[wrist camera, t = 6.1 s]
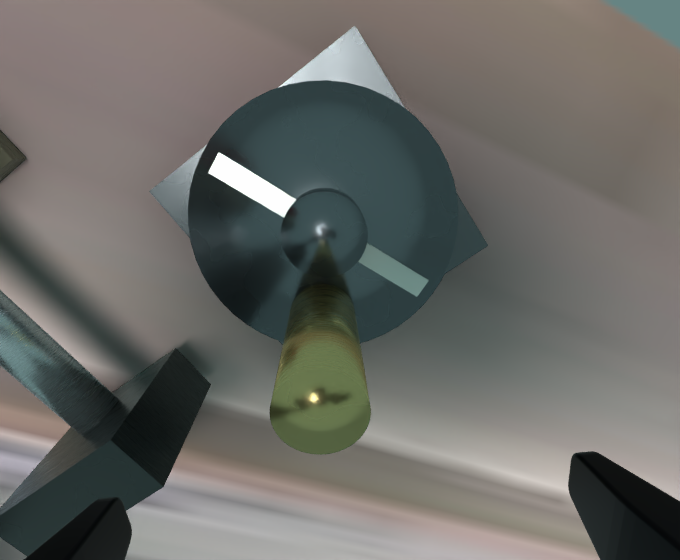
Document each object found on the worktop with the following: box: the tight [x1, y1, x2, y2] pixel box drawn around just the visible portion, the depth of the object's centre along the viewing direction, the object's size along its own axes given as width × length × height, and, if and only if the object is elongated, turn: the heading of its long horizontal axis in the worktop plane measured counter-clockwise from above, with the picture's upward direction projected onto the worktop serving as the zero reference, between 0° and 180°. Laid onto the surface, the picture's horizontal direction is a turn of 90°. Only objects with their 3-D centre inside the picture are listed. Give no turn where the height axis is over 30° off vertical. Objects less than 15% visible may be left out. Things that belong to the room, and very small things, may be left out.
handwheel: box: [188, 80, 458, 454], centre depth 13 cm, size 10×10×8 cm
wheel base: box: [149, 26, 488, 345], centre depth 17 cm, size 10×10×1 cm
